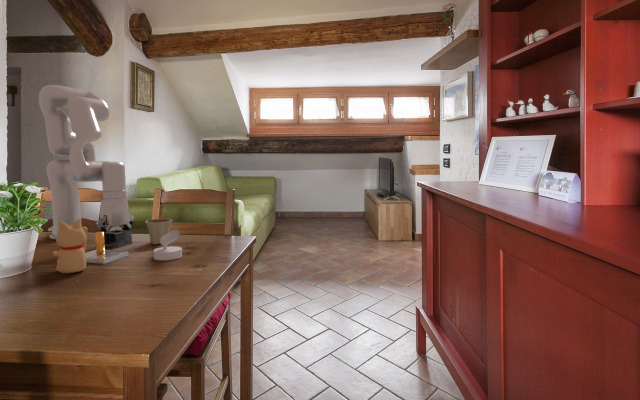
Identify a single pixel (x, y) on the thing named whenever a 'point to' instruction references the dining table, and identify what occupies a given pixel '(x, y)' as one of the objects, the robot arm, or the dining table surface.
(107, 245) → the grey square box
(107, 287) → the dining table surface
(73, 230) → the figurine
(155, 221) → the flower pot
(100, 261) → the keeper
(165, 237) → the wall hook
